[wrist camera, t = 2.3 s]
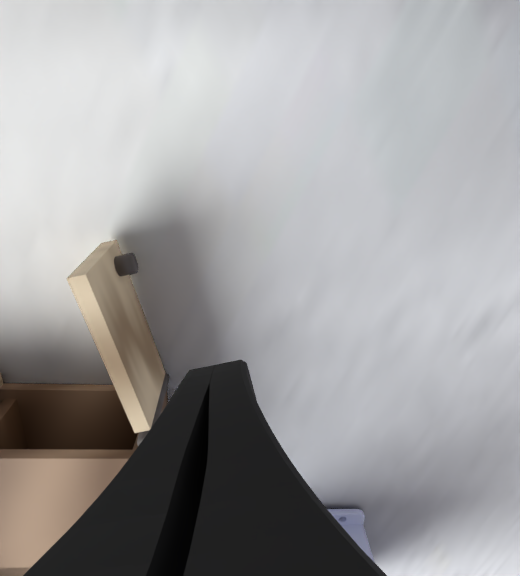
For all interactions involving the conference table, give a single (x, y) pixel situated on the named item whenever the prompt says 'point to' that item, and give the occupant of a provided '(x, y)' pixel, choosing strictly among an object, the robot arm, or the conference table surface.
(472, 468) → the conference table surface
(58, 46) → the conference table surface
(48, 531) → the box
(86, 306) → the left door
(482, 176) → the conference table surface
